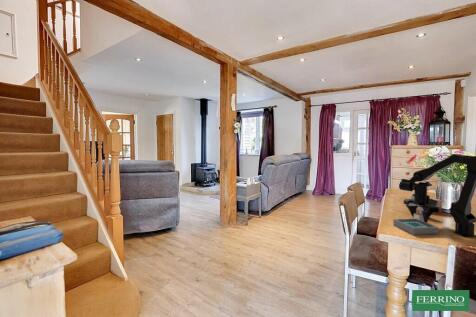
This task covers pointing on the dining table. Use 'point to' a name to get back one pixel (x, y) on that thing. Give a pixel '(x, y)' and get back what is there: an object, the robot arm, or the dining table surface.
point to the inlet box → (416, 226)
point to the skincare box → (419, 209)
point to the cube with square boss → (419, 216)
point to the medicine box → (438, 205)
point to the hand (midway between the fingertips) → (419, 220)
